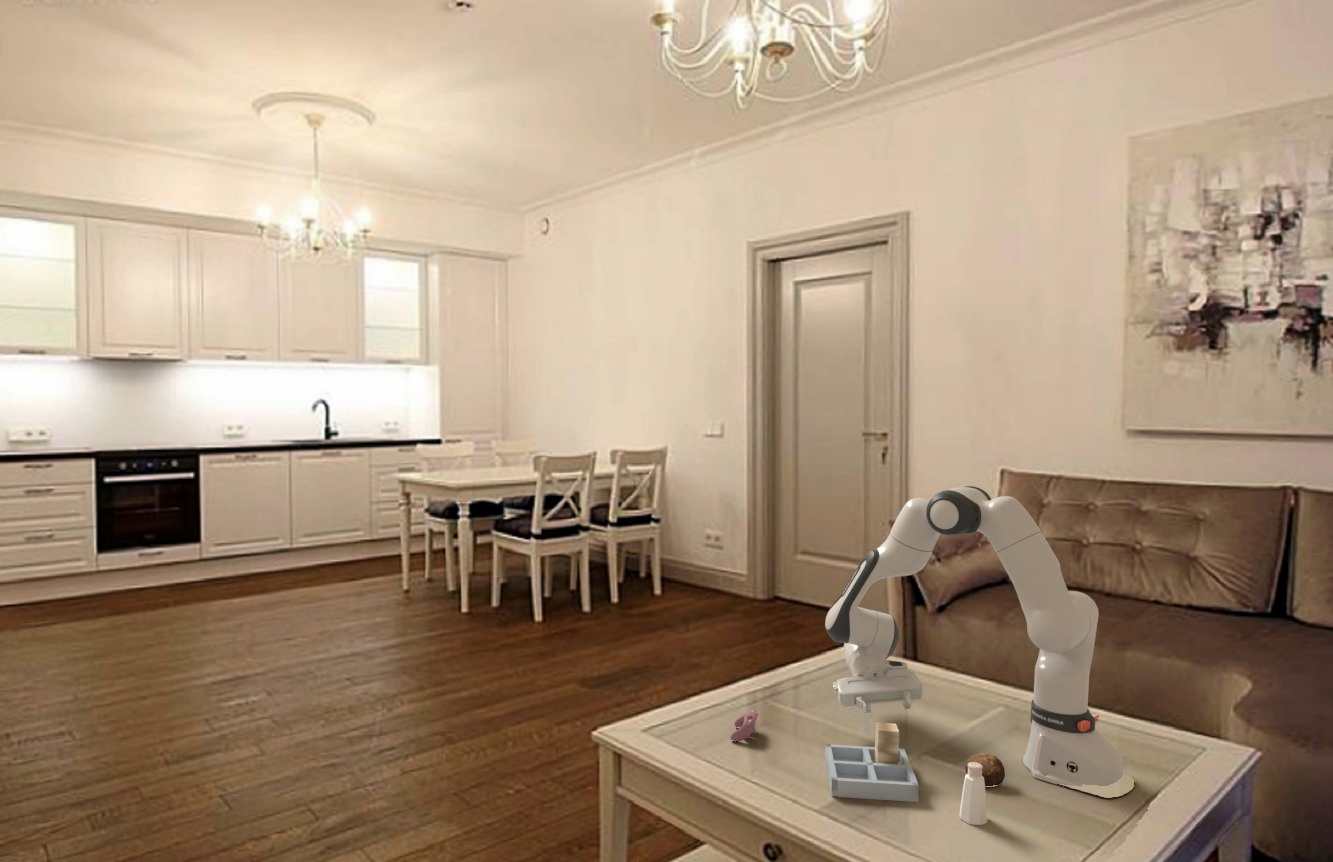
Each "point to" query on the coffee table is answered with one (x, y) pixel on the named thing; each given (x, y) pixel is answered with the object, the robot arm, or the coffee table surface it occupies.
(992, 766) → the mushroom
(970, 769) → the pepper shaker
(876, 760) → the birch block
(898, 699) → the robot arm
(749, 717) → the video game controller
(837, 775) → the divided tray
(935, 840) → the coffee table surface
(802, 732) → the coffee table surface
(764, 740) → the coffee table surface
